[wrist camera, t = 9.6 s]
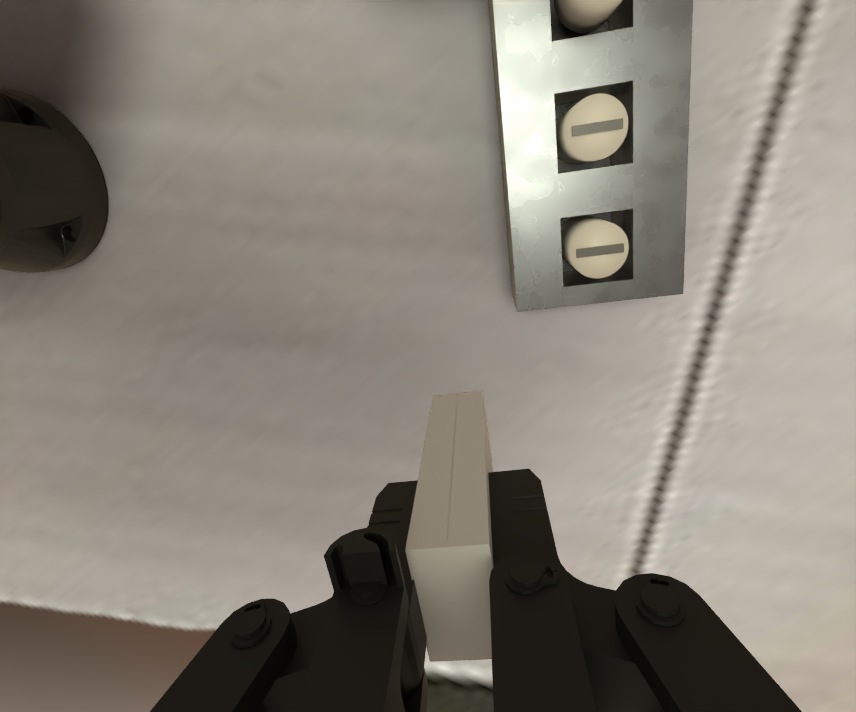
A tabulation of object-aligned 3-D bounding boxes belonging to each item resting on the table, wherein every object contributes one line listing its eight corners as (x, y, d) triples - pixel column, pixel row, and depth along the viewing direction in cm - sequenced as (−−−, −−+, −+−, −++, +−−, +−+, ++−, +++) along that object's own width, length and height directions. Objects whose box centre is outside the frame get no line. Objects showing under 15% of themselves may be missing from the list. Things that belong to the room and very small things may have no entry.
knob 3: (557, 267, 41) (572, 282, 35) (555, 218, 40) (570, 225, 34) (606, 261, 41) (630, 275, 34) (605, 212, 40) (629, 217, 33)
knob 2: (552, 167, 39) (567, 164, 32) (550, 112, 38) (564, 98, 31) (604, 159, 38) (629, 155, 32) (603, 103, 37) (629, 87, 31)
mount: (512, 294, 43) (517, 311, 37) (485, -30, 35) (487, -71, 29) (655, 278, 41) (683, 293, 36) (660, -66, 33) (696, -116, 28)
